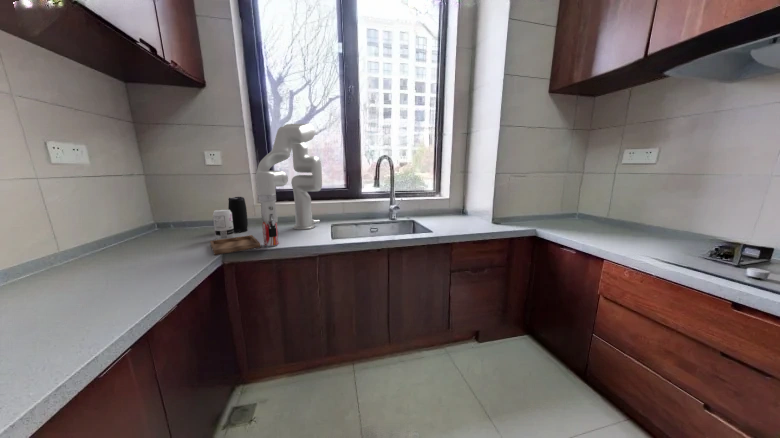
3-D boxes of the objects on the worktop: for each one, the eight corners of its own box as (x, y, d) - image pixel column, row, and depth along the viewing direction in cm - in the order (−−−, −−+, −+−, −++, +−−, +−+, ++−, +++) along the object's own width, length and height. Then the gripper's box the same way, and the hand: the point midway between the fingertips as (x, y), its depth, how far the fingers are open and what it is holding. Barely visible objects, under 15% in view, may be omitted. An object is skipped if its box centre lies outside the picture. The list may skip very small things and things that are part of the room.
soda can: (277, 246, 127) (275, 221, 124) (263, 247, 125) (260, 222, 123) (279, 242, 133) (277, 218, 130) (265, 243, 131) (263, 219, 128)
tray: (252, 239, 139) (251, 235, 139) (260, 247, 125) (260, 243, 125) (210, 245, 128) (210, 240, 128) (214, 255, 114) (214, 250, 114)
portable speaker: (228, 233, 150) (224, 198, 147) (235, 229, 159) (231, 196, 156) (245, 232, 152) (241, 198, 148) (250, 229, 161) (247, 196, 157)
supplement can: (213, 239, 138) (210, 210, 135) (231, 236, 144) (228, 208, 141) (218, 242, 133) (215, 212, 130) (237, 239, 139) (233, 210, 136)
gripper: (281, 199, 120) (283, 237, 123) (270, 196, 133) (273, 230, 136) (263, 200, 115) (266, 239, 118) (254, 197, 129) (257, 232, 132)
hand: (270, 234), depth 127 cm, fingers open, 9 cm apart
